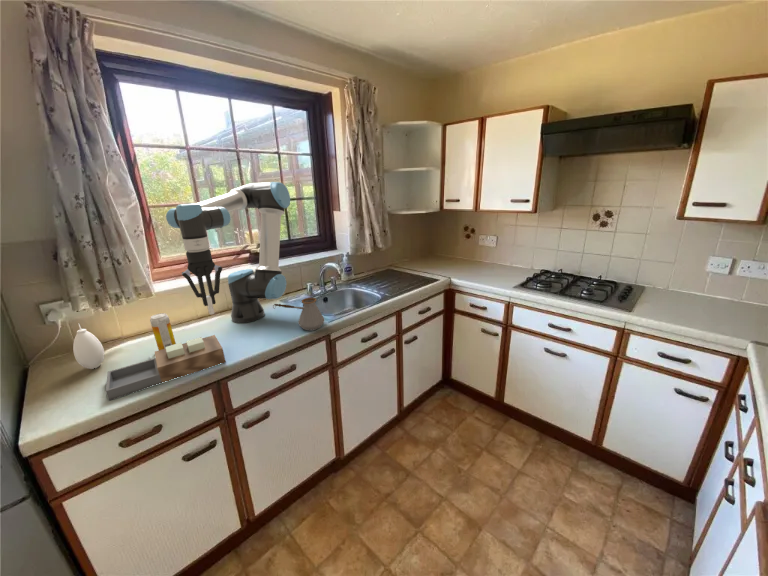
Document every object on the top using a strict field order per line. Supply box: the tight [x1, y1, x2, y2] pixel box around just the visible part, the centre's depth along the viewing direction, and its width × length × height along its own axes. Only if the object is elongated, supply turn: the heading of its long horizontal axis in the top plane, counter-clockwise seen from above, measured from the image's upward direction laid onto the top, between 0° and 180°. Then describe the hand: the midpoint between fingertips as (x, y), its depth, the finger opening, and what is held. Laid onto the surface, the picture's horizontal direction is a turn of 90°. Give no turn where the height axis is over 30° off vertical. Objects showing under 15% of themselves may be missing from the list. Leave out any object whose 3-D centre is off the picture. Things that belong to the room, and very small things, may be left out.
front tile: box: [165, 342, 185, 359], centre depth 116 cm, size 5×5×2 cm
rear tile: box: [185, 336, 205, 352], centre depth 120 cm, size 5×5×2 cm
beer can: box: [149, 312, 177, 351], centre depth 130 cm, size 6×6×15 cm
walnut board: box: [154, 334, 227, 383], centre depth 120 cm, size 20×14×6 cm
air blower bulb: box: [72, 322, 105, 370], centre depth 119 cm, size 8×8×18 cm
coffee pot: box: [272, 297, 325, 332], centre depth 143 cm, size 21×12×15 cm, turn 126°
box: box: [105, 357, 163, 401], centre depth 111 cm, size 14×14×4 cm
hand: (211, 313), depth 121 cm, fingers closed
